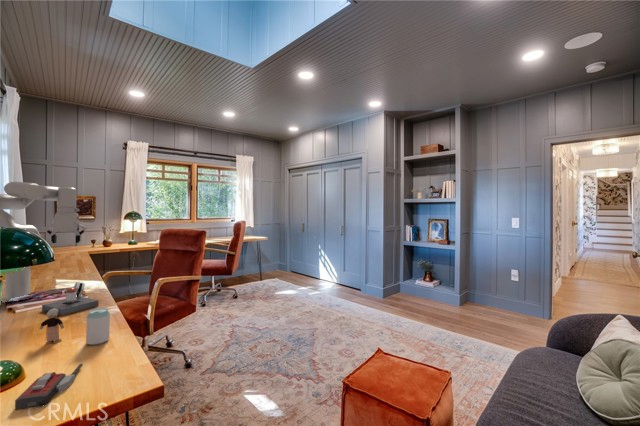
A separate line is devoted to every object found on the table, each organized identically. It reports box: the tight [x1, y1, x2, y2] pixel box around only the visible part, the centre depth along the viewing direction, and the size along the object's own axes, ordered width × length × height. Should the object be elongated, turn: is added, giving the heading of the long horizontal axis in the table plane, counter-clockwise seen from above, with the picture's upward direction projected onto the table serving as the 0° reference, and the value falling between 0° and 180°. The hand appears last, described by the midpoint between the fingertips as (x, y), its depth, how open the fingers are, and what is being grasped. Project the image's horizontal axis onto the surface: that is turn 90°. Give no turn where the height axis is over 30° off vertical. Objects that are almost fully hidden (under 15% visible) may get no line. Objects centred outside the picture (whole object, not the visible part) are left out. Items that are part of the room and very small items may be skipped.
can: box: [85, 307, 111, 346], centre depth 111 cm, size 7×7×12 cm
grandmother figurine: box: [38, 309, 65, 345], centre depth 110 cm, size 8×4×13 cm, turn 115°
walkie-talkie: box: [14, 363, 84, 411], centre depth 83 cm, size 9×4×20 cm
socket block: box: [41, 296, 99, 317], centre depth 147 cm, size 16×16×3 cm
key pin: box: [65, 287, 77, 305], centre depth 147 cm, size 4×4×10 cm
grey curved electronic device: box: [73, 281, 86, 297], centre depth 163 cm, size 17×5×10 cm, turn 40°
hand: (66, 242), depth 154 cm, fingers open, 9 cm apart
